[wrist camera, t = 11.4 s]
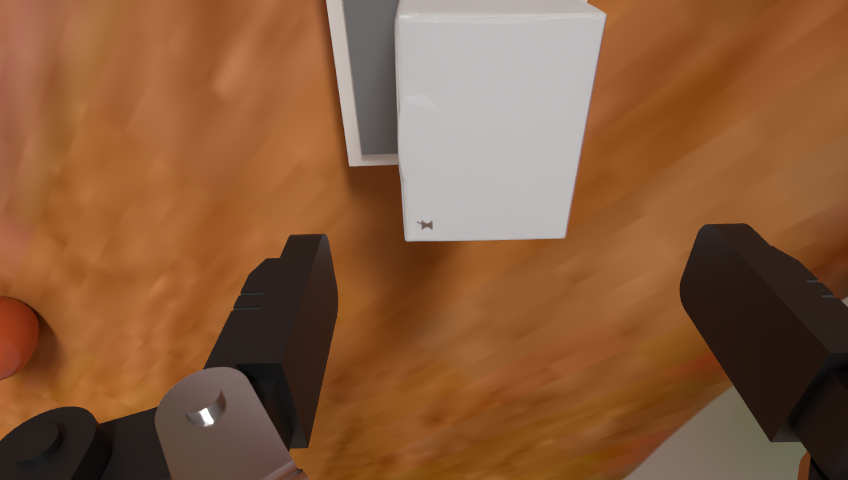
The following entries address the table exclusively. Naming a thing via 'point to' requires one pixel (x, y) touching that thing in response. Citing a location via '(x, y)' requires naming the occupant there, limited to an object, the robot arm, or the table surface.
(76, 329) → the table surface
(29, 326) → the tomato
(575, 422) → the table surface
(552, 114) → the small box
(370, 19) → the stack base
